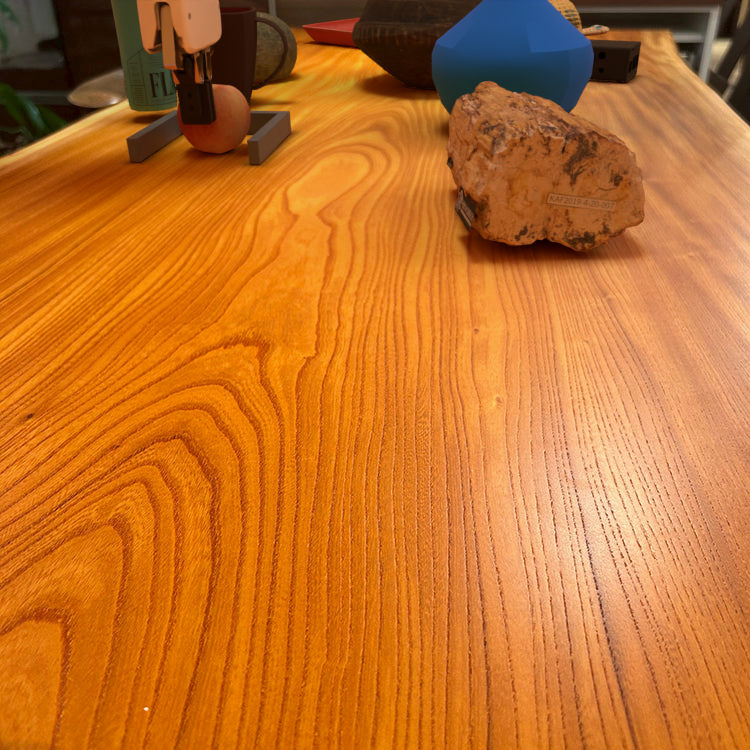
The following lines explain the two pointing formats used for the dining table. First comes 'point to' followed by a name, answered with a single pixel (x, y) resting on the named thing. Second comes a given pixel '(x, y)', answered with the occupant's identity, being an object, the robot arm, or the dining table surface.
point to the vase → (513, 53)
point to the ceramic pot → (407, 35)
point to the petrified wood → (539, 172)
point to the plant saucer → (332, 32)
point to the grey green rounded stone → (273, 49)
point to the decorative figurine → (576, 18)
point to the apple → (221, 122)
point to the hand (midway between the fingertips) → (199, 122)
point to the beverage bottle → (141, 64)
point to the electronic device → (614, 60)
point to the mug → (240, 50)
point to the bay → (150, 139)
